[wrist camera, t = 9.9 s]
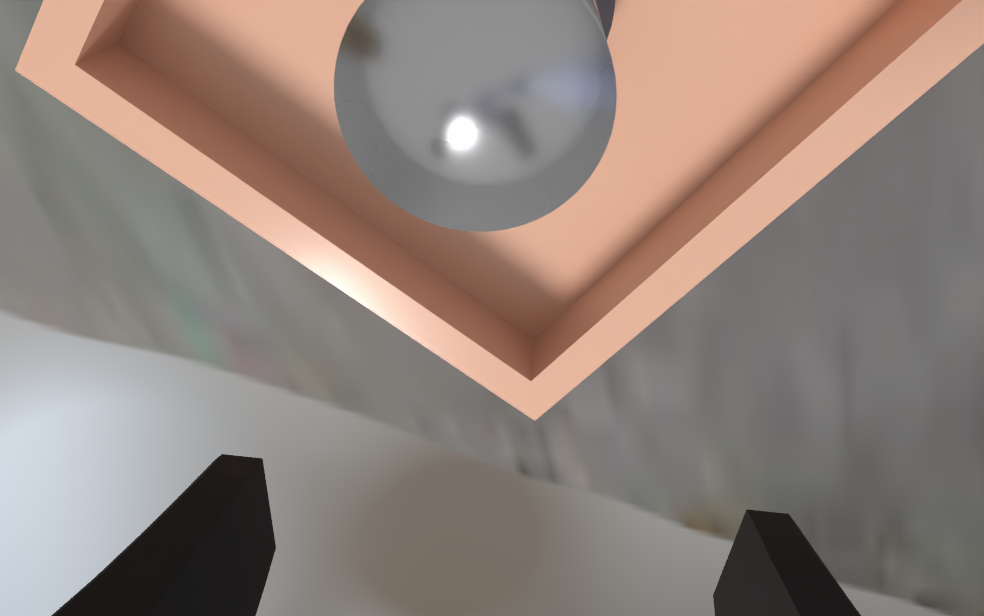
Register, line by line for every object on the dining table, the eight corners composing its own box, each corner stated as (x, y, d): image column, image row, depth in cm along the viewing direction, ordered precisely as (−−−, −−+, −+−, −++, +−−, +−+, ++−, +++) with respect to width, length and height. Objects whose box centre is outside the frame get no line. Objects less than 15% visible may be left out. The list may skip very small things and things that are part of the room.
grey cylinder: (635, -110, 15) (709, -57, 8) (581, 109, 17) (604, 286, 11) (411, -155, 14) (297, -139, 8) (391, 73, 17) (292, 231, 10)
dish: (1000, -49, 15) (1070, -31, 13) (536, 365, 22) (534, 420, 20) (436, -752, 11) (407, -892, 9) (78, 42, 18) (15, 70, 16)
